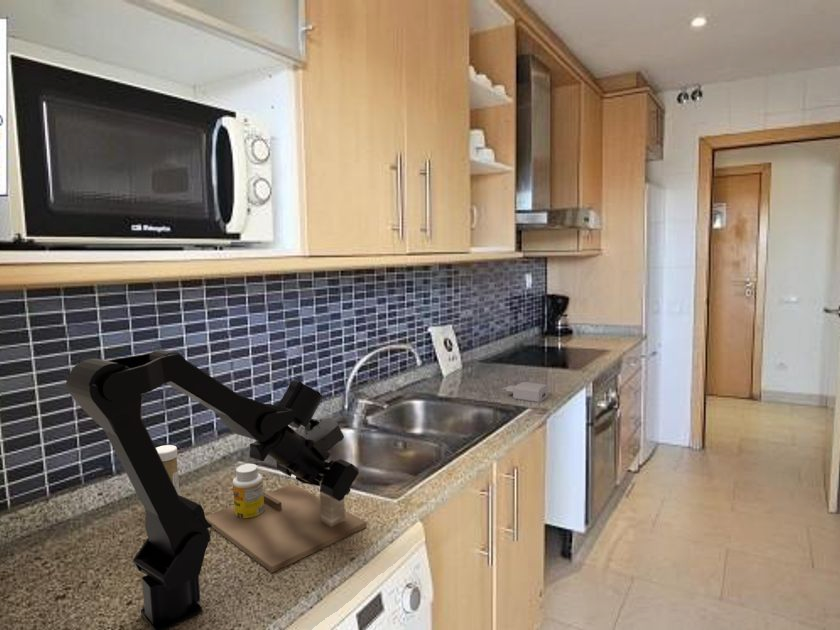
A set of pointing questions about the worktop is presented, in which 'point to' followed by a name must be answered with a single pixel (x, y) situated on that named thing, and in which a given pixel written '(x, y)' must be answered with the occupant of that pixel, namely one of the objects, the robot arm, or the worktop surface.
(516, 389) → the charger
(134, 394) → the robot arm
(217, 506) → the worktop surface
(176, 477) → the sprinkles bottle
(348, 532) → the square wooden board
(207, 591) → the worktop surface
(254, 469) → the supplement bottle
